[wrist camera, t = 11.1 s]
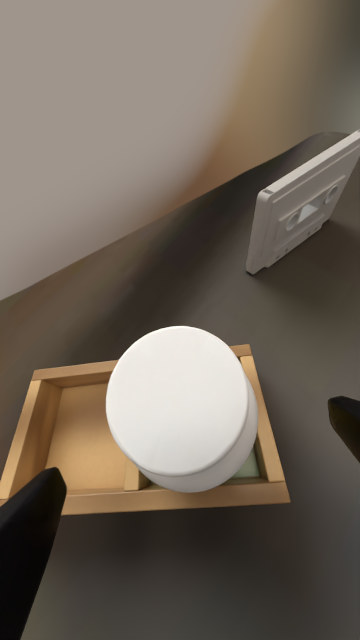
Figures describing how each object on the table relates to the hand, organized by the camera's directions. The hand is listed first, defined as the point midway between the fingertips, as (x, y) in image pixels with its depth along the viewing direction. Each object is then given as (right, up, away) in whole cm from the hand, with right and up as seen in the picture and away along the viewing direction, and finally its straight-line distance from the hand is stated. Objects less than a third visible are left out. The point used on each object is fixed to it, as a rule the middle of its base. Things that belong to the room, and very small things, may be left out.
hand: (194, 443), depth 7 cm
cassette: (+11, +12, +16) cm, 22 cm away
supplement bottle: (+1, -3, +7) cm, 8 cm away
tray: (-3, -4, +8) cm, 9 cm away
